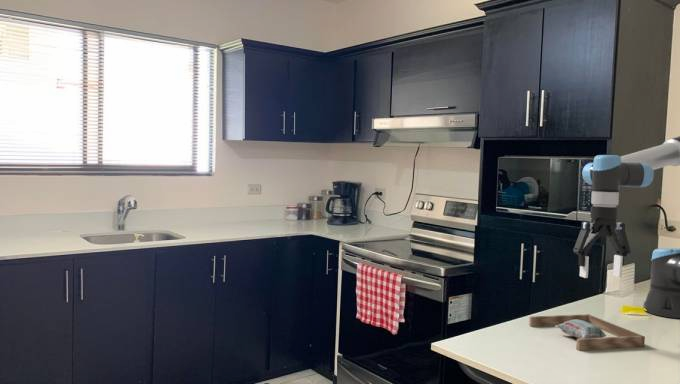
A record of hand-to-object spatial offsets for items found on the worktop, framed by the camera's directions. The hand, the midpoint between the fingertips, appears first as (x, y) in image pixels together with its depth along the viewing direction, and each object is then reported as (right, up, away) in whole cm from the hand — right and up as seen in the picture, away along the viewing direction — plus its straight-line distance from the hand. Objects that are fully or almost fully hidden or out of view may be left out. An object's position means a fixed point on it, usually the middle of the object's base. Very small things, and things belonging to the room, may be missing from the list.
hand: (600, 276), depth 169 cm
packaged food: (-11, -19, -1) cm, 22 cm away
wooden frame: (-5, -18, 0) cm, 19 cm away
